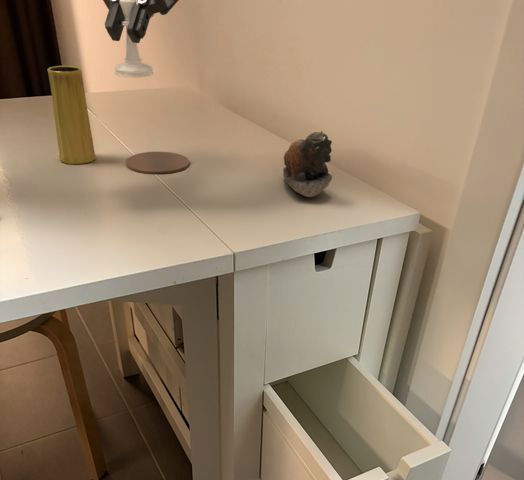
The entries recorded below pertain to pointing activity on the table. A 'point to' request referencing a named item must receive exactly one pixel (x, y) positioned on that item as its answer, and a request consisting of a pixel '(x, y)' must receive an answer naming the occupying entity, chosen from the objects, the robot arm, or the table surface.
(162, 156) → the coaster
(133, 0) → the chess piece
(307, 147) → the bison figurine
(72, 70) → the vase
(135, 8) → the robot arm
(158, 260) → the table surface
